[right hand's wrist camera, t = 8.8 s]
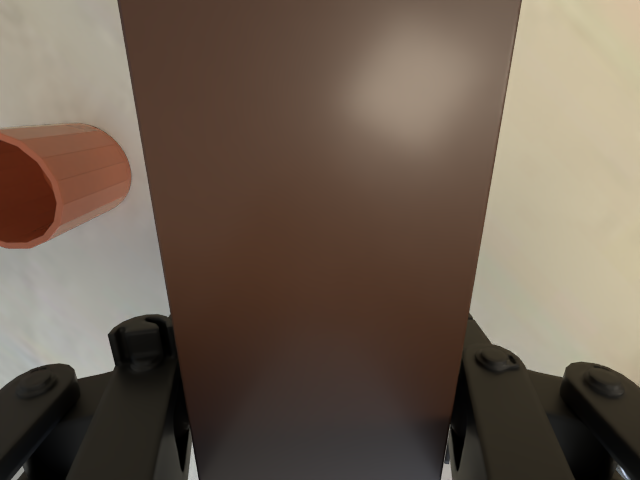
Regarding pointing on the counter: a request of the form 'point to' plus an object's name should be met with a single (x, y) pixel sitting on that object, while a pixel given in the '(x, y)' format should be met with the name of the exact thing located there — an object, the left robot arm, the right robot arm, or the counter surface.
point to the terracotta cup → (56, 180)
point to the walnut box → (319, 219)
